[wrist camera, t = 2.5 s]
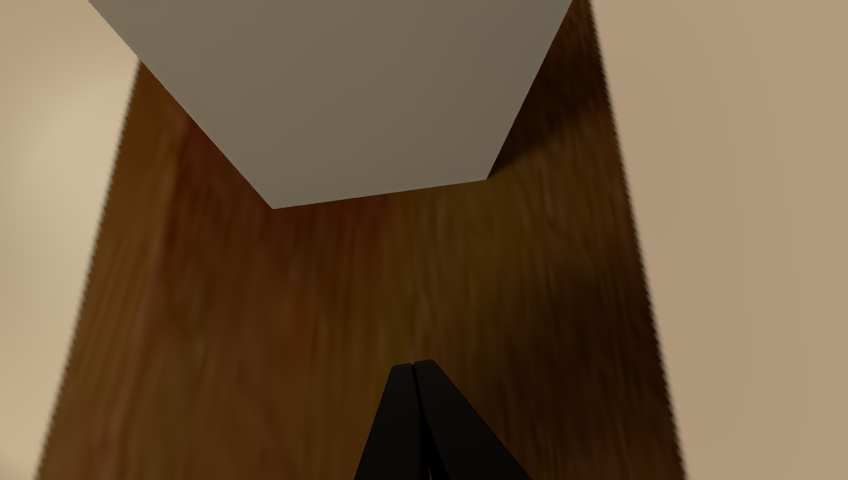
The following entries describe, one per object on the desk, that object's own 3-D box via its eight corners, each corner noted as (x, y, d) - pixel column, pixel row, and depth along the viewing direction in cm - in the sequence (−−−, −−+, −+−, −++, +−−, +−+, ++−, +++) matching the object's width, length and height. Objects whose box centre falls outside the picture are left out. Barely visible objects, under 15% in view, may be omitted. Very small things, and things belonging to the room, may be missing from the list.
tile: (486, 179, 18) (614, -88, 7) (272, 208, 17) (47, -45, 6) (474, 127, 18) (575, -190, 8) (268, 153, 17) (59, -164, 7)
